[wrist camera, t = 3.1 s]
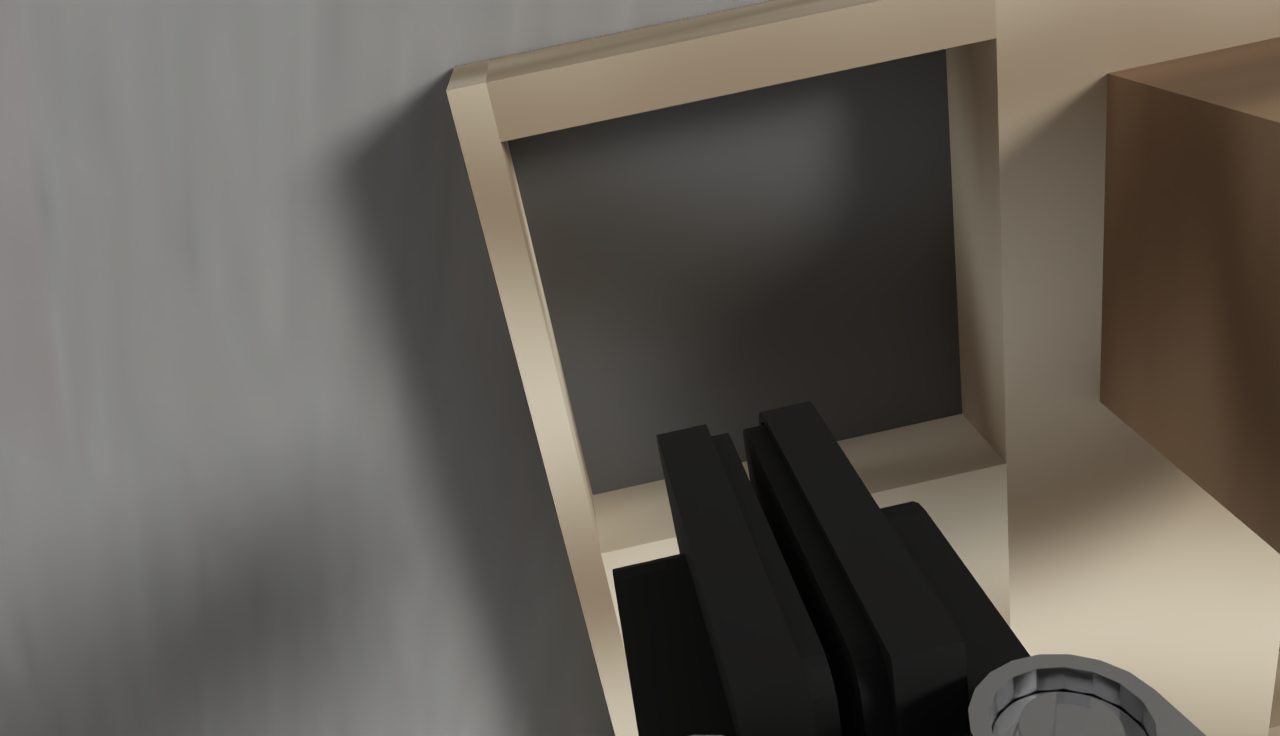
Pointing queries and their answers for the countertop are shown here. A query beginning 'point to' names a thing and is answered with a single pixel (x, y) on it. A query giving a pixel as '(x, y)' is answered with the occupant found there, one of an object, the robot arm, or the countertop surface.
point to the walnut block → (1198, 270)
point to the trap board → (865, 303)
